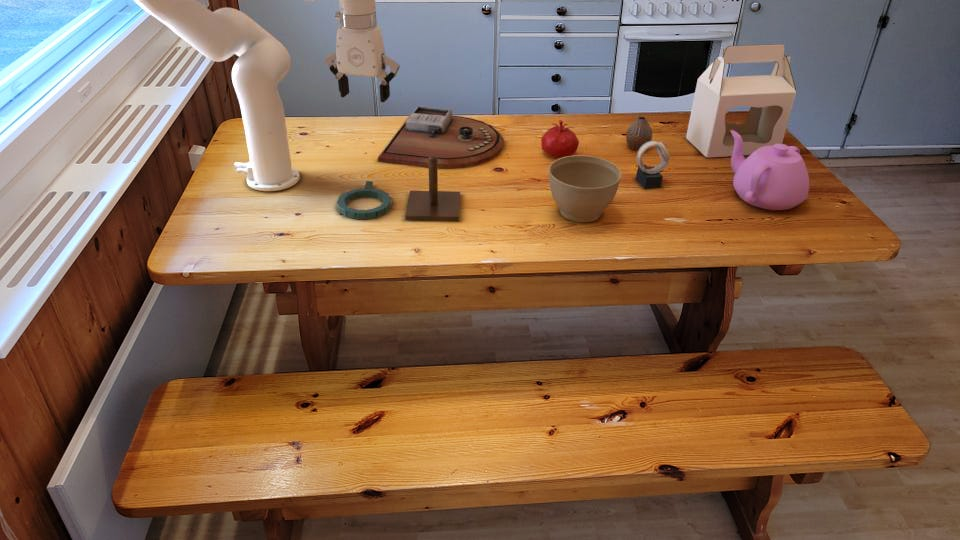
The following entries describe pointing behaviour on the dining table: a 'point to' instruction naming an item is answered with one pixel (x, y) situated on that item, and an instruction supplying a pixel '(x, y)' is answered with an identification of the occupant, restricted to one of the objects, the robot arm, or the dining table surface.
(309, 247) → the dining table surface
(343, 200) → the ring
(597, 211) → the planter bowl
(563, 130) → the pomegranate
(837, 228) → the dining table surface
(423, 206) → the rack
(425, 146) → the control panel
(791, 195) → the teapot
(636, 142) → the vase
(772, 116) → the gable box
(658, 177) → the ring sculpture
